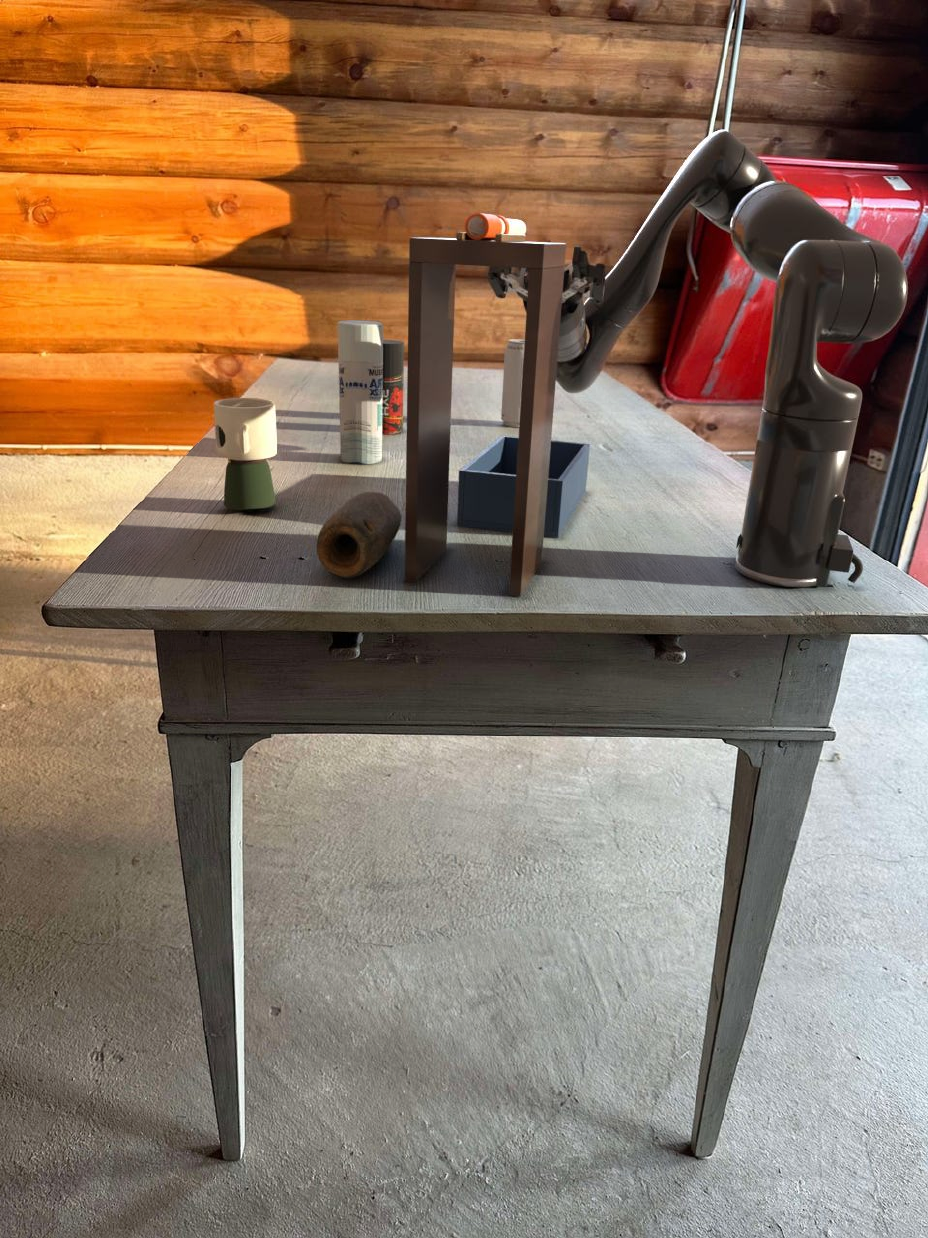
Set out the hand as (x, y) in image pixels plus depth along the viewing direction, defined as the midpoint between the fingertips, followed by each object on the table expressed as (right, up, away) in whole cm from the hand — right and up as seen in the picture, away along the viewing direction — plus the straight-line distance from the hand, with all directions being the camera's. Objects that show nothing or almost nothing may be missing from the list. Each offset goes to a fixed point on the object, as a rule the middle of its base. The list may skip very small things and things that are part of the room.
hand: (540, 251), depth 106 cm
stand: (-8, -38, -10) cm, 40 cm away
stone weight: (-20, -37, -9) cm, 42 cm away
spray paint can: (-24, -18, +33) cm, 45 cm away
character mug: (-35, -29, +7) cm, 46 cm away
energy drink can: (+1, -7, +63) cm, 64 cm away
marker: (-5, -5, -18) cm, 20 cm away
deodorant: (-22, -10, +54) cm, 59 cm away
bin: (-1, -28, +12) cm, 31 cm away
